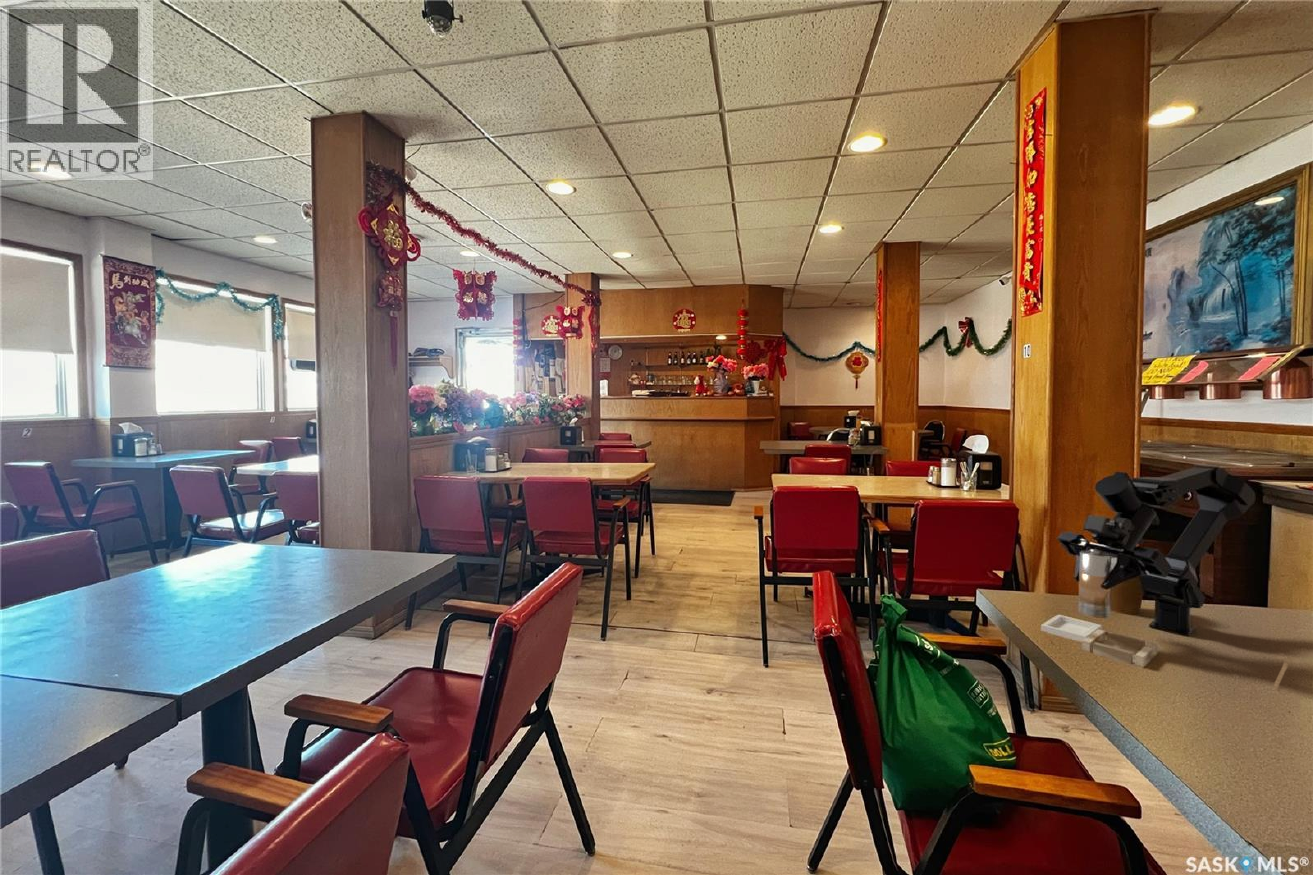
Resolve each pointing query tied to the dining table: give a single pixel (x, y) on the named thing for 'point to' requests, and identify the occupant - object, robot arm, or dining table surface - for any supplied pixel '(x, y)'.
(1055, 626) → the tray
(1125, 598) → the disposable coffee cup
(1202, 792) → the dining table surface
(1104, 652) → the tray
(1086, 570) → the battery cell
